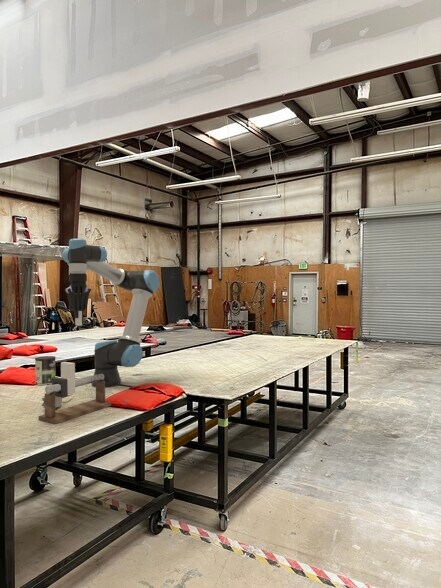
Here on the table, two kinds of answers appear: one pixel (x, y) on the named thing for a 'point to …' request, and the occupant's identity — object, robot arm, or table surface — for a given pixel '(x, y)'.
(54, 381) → the dark gray nut plate
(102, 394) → the pipe stand
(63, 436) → the table surface
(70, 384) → the white u-shaped bracket
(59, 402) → the electrical component
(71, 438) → the table surface
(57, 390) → the steel pipe
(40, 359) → the coffee can
